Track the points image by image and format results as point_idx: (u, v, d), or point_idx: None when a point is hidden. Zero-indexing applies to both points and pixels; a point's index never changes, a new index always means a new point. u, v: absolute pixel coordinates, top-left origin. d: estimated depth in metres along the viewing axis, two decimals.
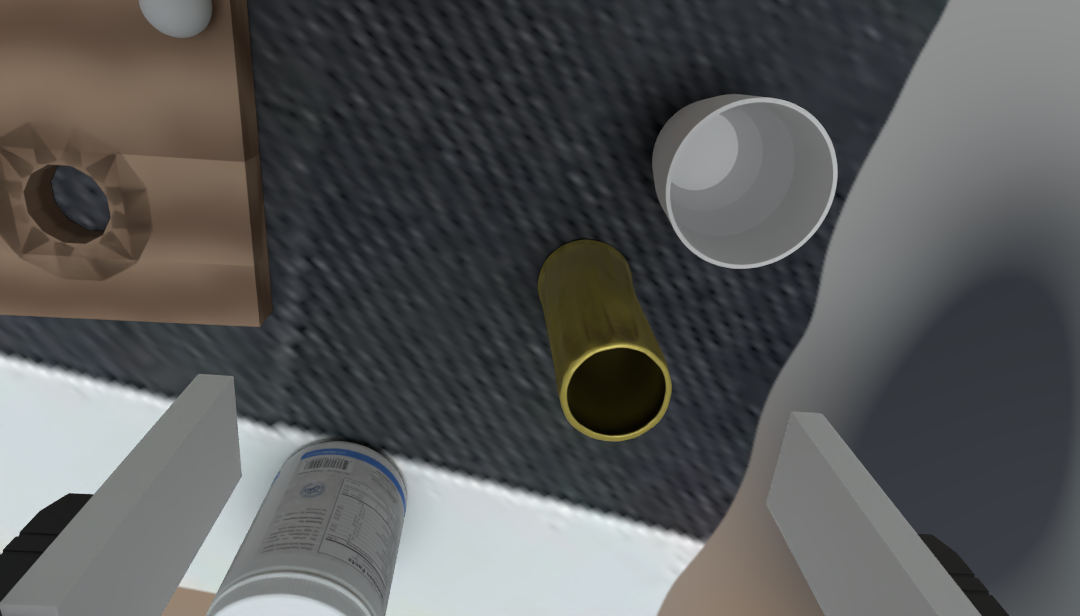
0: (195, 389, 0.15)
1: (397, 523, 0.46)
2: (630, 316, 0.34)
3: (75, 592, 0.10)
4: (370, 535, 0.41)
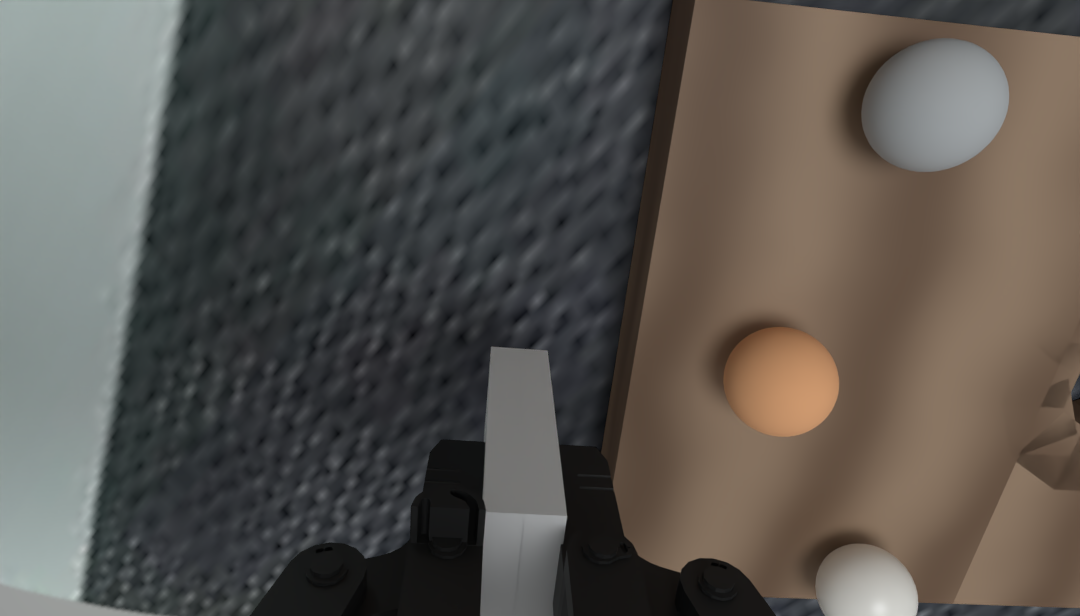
0: (499, 359, 0.17)
1: None
2: None
3: None
4: None
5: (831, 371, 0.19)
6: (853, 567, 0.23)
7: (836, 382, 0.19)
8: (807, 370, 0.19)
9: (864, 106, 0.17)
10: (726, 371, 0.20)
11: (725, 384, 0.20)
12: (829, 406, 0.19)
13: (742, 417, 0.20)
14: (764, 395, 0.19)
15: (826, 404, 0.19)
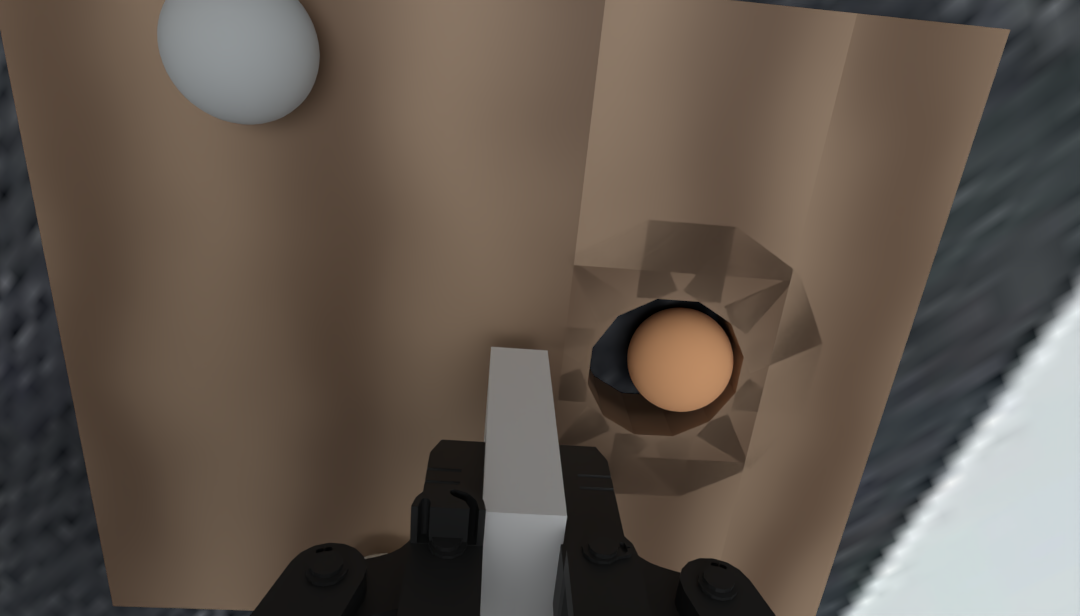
0: (499, 359, 0.17)
1: None
2: None
3: None
4: None
5: None
6: None
7: None
8: None
9: None
10: None
11: None
12: None
13: None
14: None
15: None
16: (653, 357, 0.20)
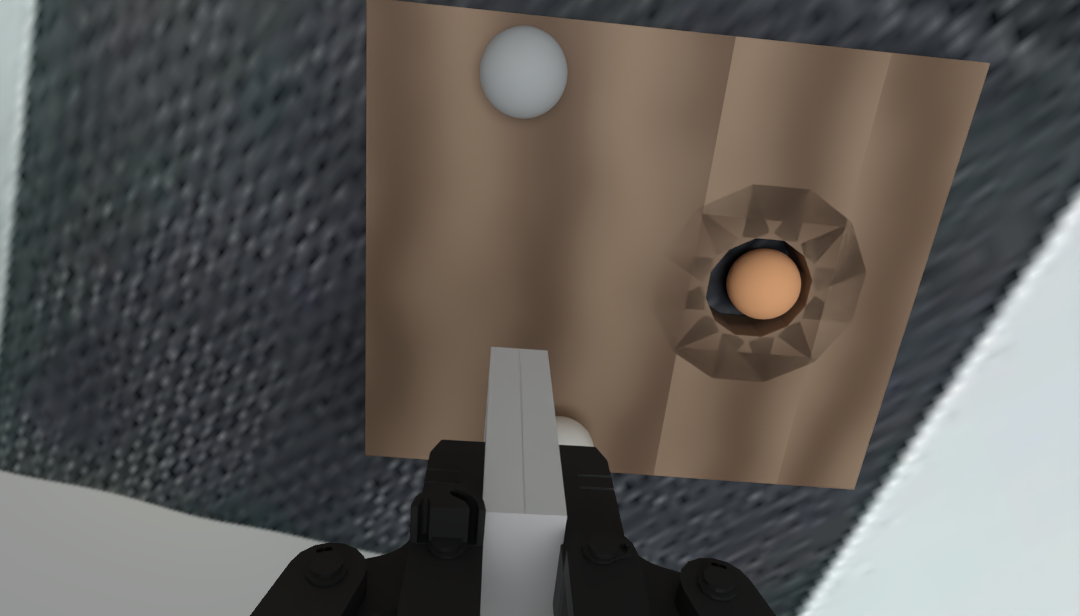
0: (499, 358, 0.17)
1: None
2: None
3: None
4: None
5: None
6: None
7: None
8: None
9: None
10: None
11: None
12: None
13: None
14: None
15: None
16: (745, 277, 0.30)
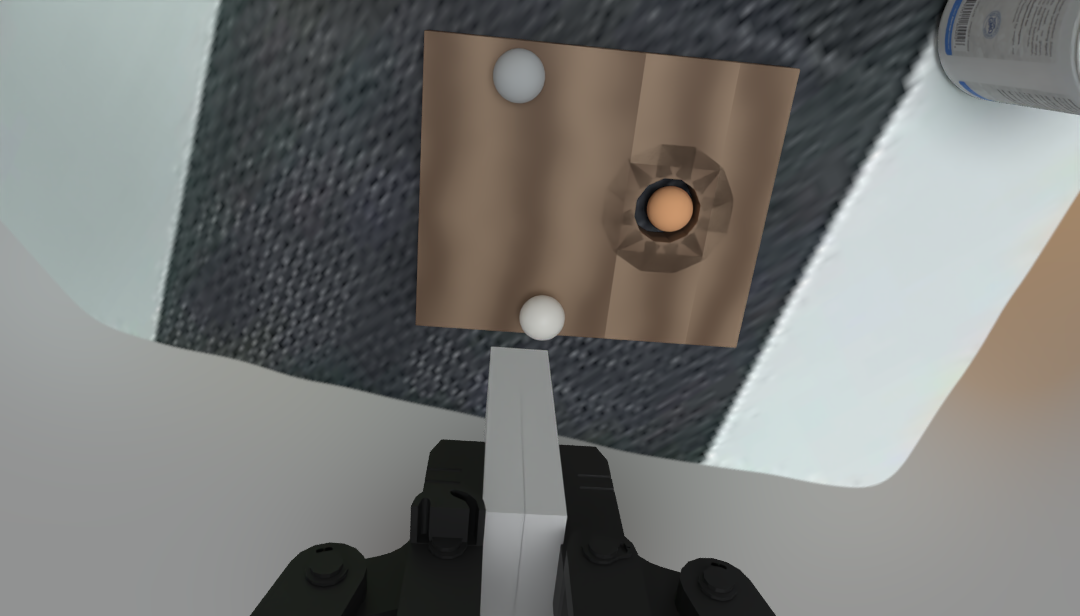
0: (499, 359, 0.17)
1: None
2: None
3: None
4: None
5: None
6: (531, 301, 0.48)
7: None
8: None
9: None
10: None
11: None
12: None
13: None
14: None
15: None
16: (655, 203, 0.47)
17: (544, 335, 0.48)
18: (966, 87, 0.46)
